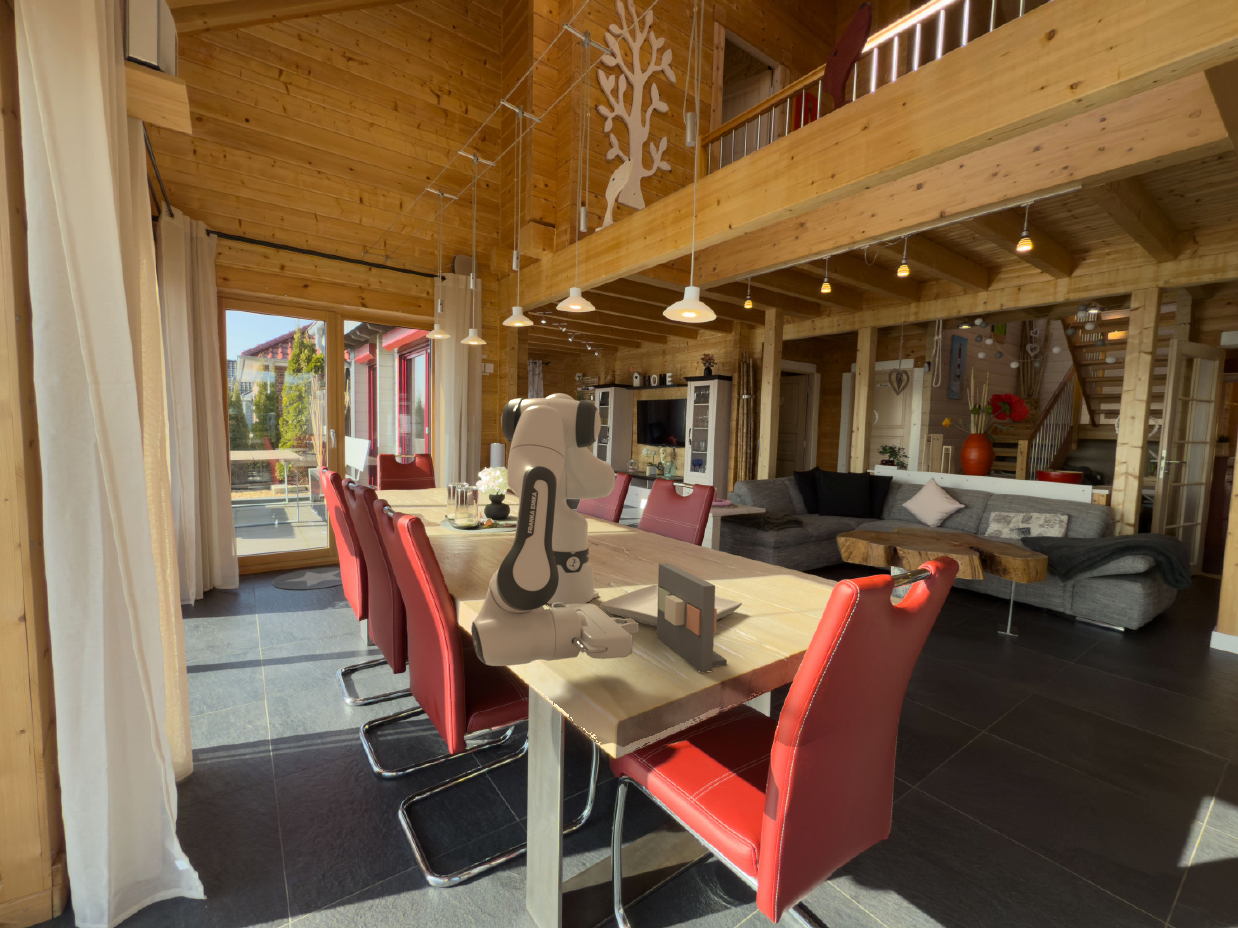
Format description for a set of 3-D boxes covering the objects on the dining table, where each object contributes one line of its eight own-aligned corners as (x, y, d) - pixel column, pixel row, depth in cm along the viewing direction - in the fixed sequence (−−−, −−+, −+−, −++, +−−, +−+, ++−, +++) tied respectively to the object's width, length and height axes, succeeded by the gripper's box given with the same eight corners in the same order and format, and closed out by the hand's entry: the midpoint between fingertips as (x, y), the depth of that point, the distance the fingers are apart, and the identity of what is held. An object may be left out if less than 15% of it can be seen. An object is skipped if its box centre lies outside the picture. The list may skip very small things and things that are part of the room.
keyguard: (656, 637, 126) (658, 563, 125) (684, 634, 129) (686, 561, 128) (701, 673, 107) (703, 586, 107) (732, 668, 110) (735, 583, 109)
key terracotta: (686, 627, 112) (687, 604, 112) (703, 625, 114) (704, 602, 114) (698, 635, 108) (699, 611, 108) (716, 633, 109) (716, 609, 109)
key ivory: (664, 618, 118) (665, 595, 118) (681, 616, 119) (681, 594, 119) (674, 625, 113) (675, 602, 113) (692, 623, 115) (692, 600, 115)
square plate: (691, 643, 124) (692, 626, 124) (597, 617, 141) (597, 602, 140) (743, 614, 146) (743, 599, 146) (655, 594, 162) (656, 581, 162)
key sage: (658, 608, 125) (658, 587, 124) (674, 606, 126) (674, 585, 126) (667, 614, 120) (668, 593, 120) (684, 613, 122) (684, 591, 121)
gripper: (583, 634, 90) (659, 625, 96) (551, 600, 109) (616, 594, 114) (582, 672, 91) (658, 661, 96) (550, 631, 110) (615, 624, 115)
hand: (635, 624), depth 105 cm, fingers closed
